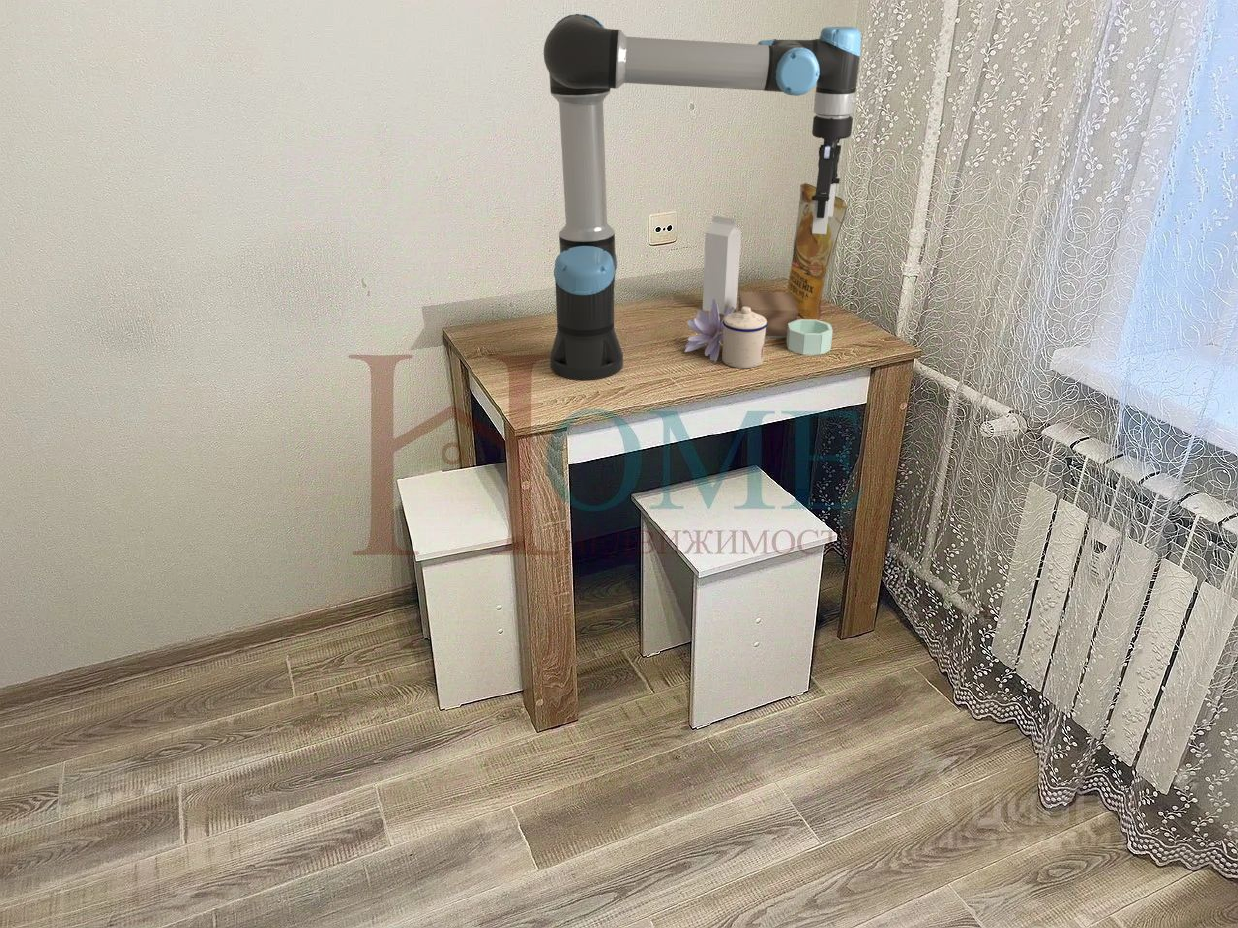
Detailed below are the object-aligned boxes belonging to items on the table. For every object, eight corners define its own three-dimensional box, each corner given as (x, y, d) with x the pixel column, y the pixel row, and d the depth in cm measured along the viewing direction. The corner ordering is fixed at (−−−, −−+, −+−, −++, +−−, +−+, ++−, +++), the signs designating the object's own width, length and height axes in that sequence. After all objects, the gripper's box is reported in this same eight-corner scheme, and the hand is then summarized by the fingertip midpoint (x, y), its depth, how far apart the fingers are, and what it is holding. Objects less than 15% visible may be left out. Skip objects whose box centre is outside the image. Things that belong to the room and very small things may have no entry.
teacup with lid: (771, 366, 192) (775, 313, 186) (730, 371, 190) (733, 317, 184) (749, 345, 202) (752, 294, 196) (709, 350, 200) (712, 298, 194)
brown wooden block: (741, 335, 206) (742, 309, 203) (737, 316, 217) (739, 291, 214) (795, 336, 206) (798, 310, 203) (789, 316, 216) (791, 292, 213)
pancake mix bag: (803, 296, 229) (814, 180, 216) (836, 323, 213) (850, 200, 200) (777, 298, 228) (786, 182, 214) (809, 326, 212) (821, 202, 198)
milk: (714, 304, 225) (719, 212, 214) (737, 309, 222) (742, 216, 211) (701, 311, 221) (705, 218, 210) (724, 316, 218) (729, 222, 207)
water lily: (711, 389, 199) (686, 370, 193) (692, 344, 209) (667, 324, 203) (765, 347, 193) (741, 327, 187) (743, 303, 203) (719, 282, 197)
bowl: (789, 356, 197) (791, 334, 195) (784, 340, 205) (786, 319, 202) (832, 357, 197) (834, 335, 194) (826, 341, 204) (828, 319, 202)
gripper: (848, 127, 169) (835, 242, 180) (857, 105, 190) (846, 210, 200) (806, 125, 171) (796, 239, 181) (820, 104, 192) (811, 208, 202)
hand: (822, 224), depth 191 cm, fingers open, 13 cm apart
